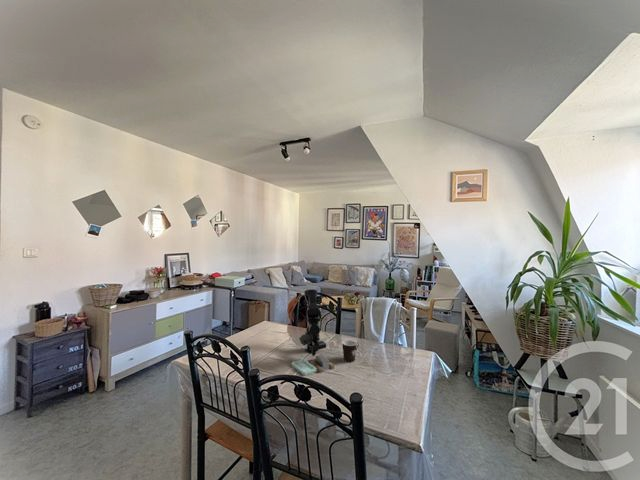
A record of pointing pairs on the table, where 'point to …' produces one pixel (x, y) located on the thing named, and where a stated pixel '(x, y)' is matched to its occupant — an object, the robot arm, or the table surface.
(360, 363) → the table surface
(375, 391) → the table surface
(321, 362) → the grey rectangular block
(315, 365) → the socket
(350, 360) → the coffee mug
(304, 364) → the pale teal tray
